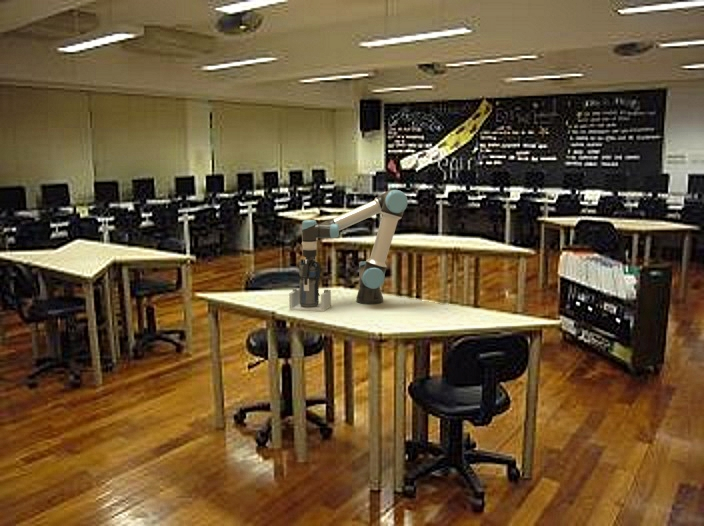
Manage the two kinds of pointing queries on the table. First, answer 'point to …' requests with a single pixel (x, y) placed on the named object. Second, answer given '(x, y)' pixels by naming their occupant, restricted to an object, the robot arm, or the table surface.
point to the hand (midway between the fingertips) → (310, 288)
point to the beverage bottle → (310, 285)
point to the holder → (295, 305)
